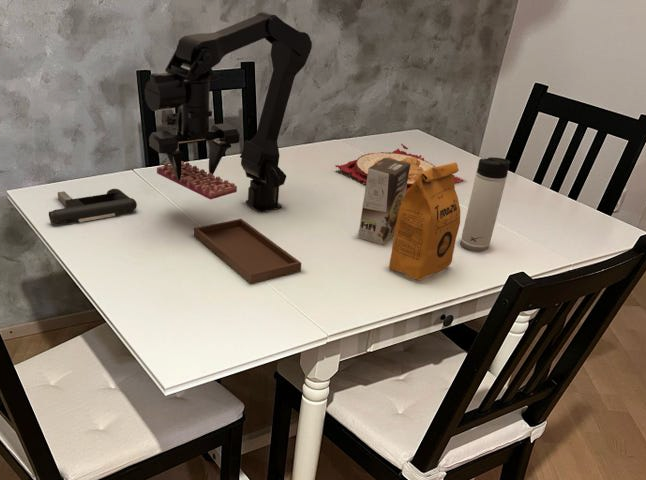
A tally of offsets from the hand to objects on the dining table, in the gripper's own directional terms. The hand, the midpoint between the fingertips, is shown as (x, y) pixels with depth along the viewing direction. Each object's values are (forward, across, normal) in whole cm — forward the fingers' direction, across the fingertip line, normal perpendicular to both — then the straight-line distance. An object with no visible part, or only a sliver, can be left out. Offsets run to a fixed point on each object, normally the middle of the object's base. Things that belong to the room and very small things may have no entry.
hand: (194, 177), depth 161 cm
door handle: (+11, +19, -18) cm, 28 cm away
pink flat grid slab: (+1, 0, 0) cm, 1 cm away
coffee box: (+11, -35, +22) cm, 43 cm away
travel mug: (+11, -51, +36) cm, 64 cm away
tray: (+11, -3, +18) cm, 21 cm away
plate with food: (+11, -64, -5) cm, 65 cm away
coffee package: (+11, -32, +39) cm, 52 cm away
